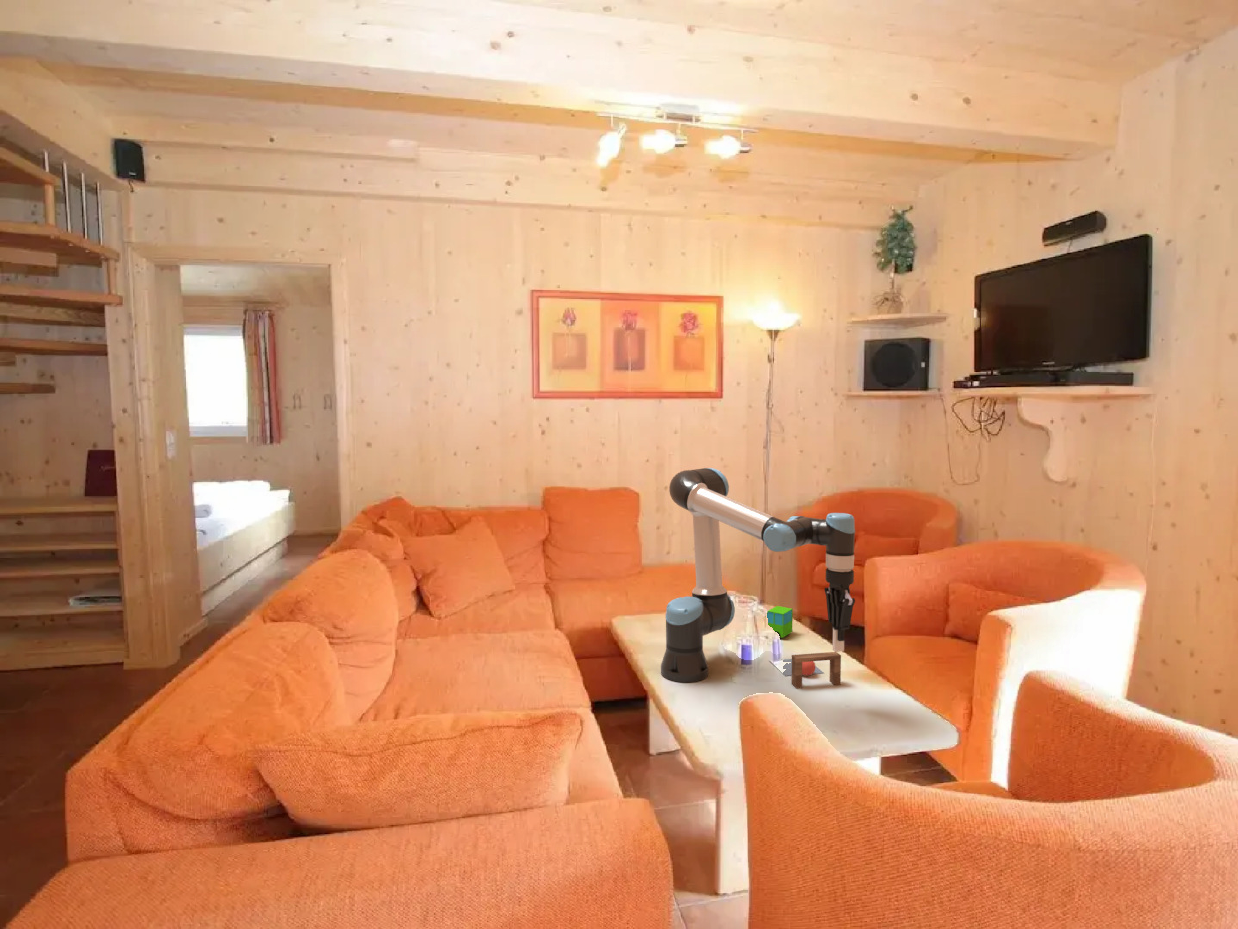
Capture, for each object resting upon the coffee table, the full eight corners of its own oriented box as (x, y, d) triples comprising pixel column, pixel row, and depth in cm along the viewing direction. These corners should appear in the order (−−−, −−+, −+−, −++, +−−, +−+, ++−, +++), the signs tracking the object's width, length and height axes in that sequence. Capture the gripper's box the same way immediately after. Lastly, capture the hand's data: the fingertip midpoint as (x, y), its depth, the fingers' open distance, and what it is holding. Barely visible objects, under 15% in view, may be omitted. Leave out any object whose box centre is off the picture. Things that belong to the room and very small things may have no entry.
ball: (800, 657, 201) (793, 658, 207) (802, 675, 199) (795, 676, 205) (816, 656, 202) (809, 657, 207) (819, 674, 200) (812, 675, 205)
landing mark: (785, 676, 203) (785, 675, 202) (769, 661, 215) (769, 660, 215) (823, 673, 205) (823, 672, 205) (805, 658, 217) (805, 657, 217)
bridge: (840, 684, 196) (840, 655, 195) (795, 688, 194) (796, 658, 193) (835, 680, 199) (836, 651, 198) (791, 684, 196) (791, 655, 196)
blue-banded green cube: (761, 627, 250) (761, 602, 250) (793, 634, 242) (793, 608, 241) (748, 634, 243) (748, 608, 242) (781, 641, 234) (781, 614, 233)
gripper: (864, 573, 175) (862, 658, 177) (840, 562, 188) (838, 641, 189) (839, 574, 174) (837, 660, 175) (816, 564, 186) (815, 643, 188)
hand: (838, 650), depth 182 cm, fingers closed
